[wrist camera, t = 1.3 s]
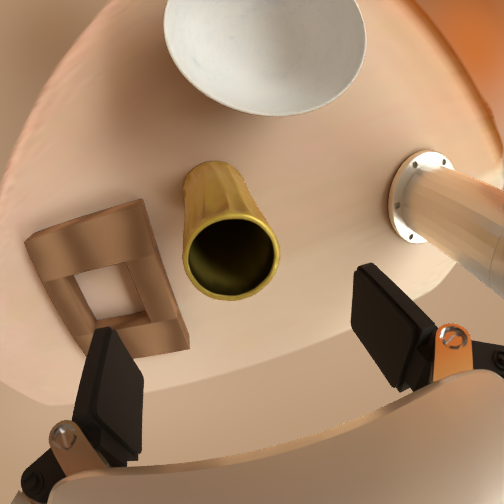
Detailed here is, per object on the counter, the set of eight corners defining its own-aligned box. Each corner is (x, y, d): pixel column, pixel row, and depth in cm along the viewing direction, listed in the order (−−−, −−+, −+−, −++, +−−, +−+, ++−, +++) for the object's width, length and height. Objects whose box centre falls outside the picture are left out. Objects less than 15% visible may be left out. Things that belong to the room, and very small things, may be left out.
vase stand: (142, 198, 27) (138, 206, 24) (189, 335, 35) (189, 348, 33) (33, 233, 25) (24, 242, 23) (94, 351, 34) (91, 364, 31)
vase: (214, 232, 30) (232, 324, 17) (169, 193, 27) (150, 265, 14) (257, 190, 28) (310, 256, 16) (214, 147, 26) (233, 178, 13)
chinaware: (350, 38, 22) (393, 24, 16) (274, 145, 27) (302, 156, 20) (230, -39, 17) (243, -77, 10) (140, 69, 21) (120, 53, 14)
